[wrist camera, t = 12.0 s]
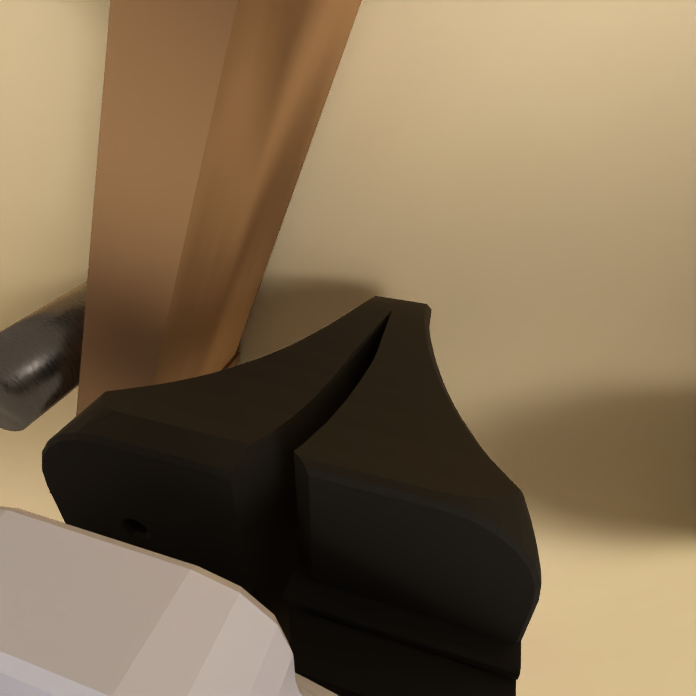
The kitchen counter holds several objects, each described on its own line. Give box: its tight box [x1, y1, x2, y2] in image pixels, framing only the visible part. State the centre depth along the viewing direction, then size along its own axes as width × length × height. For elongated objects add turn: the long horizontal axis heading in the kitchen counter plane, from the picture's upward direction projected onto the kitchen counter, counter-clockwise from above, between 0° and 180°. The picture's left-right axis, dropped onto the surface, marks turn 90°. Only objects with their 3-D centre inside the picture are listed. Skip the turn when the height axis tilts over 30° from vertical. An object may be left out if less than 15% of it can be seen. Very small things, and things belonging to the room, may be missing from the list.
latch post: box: [0, 282, 87, 431], centre depth 13 cm, size 3×3×6 cm
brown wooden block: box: [50, 0, 362, 493], centre depth 11 cm, size 12×2×6 cm, turn 156°
